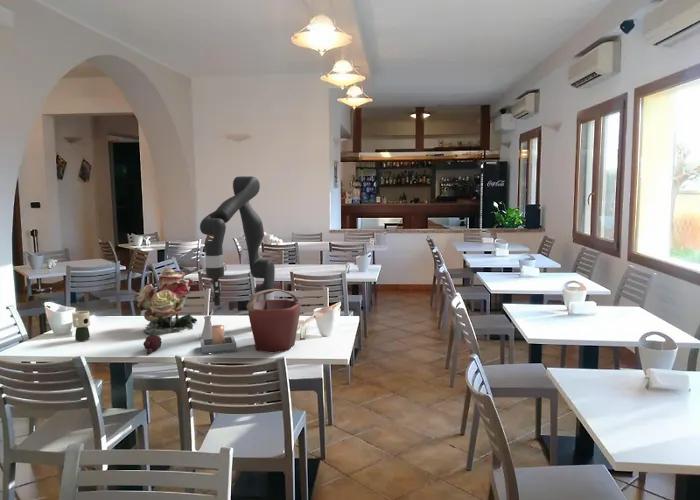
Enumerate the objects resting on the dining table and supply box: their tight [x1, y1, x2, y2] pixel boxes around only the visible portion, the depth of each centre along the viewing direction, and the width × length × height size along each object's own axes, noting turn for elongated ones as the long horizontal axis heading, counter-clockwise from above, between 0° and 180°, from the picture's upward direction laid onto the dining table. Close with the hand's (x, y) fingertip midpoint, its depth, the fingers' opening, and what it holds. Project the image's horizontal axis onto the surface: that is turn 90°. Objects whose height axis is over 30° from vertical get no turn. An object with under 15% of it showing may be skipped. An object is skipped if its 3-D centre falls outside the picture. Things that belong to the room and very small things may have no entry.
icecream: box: [142, 335, 163, 355], centre depth 244 cm, size 7×7×15 cm
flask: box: [200, 315, 213, 340], centre depth 262 cm, size 7×7×10 cm
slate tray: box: [200, 335, 237, 355], centre depth 245 cm, size 14×12×4 cm
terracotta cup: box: [212, 324, 225, 345], centre depth 244 cm, size 5×5×9 cm
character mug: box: [71, 310, 91, 342], centre depth 261 cm, size 11×7×13 cm, turn 0°
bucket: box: [245, 288, 301, 353], centre depth 246 cm, size 24×22×25 cm
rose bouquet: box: [134, 267, 198, 336], centre depth 278 cm, size 26×29×30 cm
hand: (216, 303), depth 242 cm, fingers open, 8 cm apart
